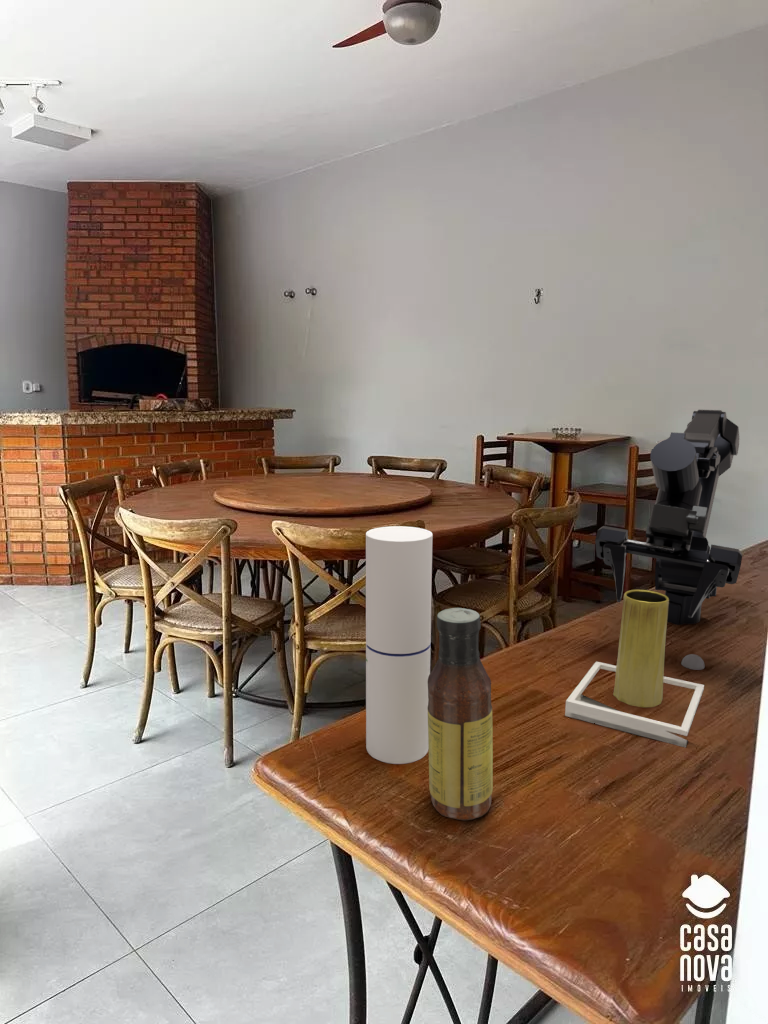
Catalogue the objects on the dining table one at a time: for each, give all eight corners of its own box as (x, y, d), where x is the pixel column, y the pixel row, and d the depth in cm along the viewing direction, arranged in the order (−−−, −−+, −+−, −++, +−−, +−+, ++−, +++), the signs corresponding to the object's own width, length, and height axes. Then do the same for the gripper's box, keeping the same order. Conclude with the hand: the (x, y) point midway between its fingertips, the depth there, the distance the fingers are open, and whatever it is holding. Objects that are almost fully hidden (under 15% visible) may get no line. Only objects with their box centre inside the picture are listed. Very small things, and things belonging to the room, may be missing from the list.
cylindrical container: (384, 770, 74) (384, 544, 69) (355, 739, 80) (354, 530, 75) (440, 753, 77) (445, 536, 72) (409, 725, 83) (411, 523, 78)
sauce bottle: (490, 787, 71) (497, 603, 67) (493, 826, 65) (501, 627, 61) (426, 783, 71) (430, 601, 67) (424, 822, 65) (427, 624, 61)
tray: (595, 674, 97) (596, 661, 97) (702, 699, 90) (704, 685, 90) (565, 715, 85) (565, 700, 85) (685, 747, 78) (687, 731, 78)
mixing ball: (687, 668, 99) (689, 649, 99) (707, 675, 97) (709, 655, 96) (676, 674, 97) (678, 654, 97) (696, 681, 95) (698, 661, 95)
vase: (668, 715, 84) (679, 605, 82) (617, 712, 85) (626, 602, 82) (655, 693, 90) (664, 589, 87) (607, 690, 91) (615, 587, 88)
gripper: (606, 471, 97) (580, 568, 90) (755, 491, 88) (737, 599, 82) (609, 511, 106) (585, 602, 99) (744, 533, 97) (727, 634, 91)
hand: (653, 608), depth 93 cm, fingers open, 9 cm apart
